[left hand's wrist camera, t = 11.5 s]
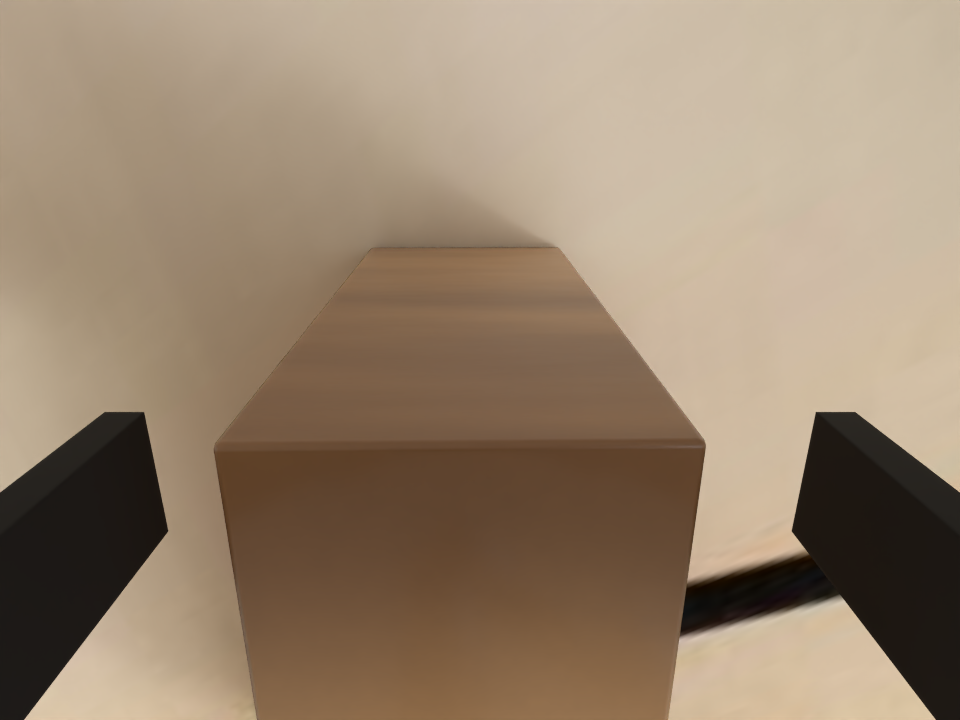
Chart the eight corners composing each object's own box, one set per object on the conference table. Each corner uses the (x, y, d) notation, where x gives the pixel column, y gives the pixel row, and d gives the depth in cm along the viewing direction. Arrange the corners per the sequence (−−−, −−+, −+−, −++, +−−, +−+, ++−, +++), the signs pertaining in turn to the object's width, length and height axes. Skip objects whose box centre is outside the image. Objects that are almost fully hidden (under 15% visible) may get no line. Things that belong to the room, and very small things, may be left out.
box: (370, 247, 19) (209, 445, 7) (560, 246, 19) (710, 441, 7) (399, 742, 26) (341, 1257, 14) (537, 740, 26) (595, 1250, 14)
